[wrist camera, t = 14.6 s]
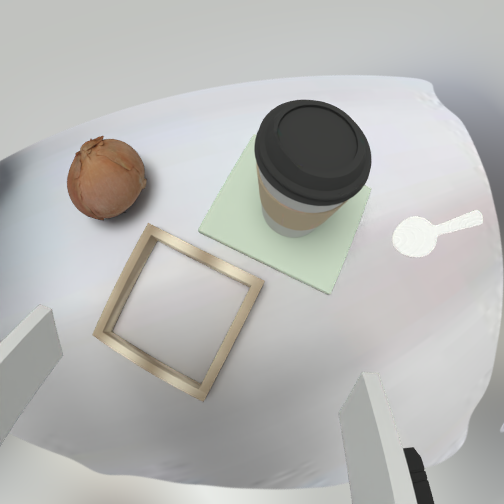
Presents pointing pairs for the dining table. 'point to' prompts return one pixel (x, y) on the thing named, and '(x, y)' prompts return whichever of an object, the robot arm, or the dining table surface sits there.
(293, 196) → the coffee cup
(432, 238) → the spoon
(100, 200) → the onion
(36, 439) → the dining table surface
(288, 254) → the mat
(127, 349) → the picture frame
